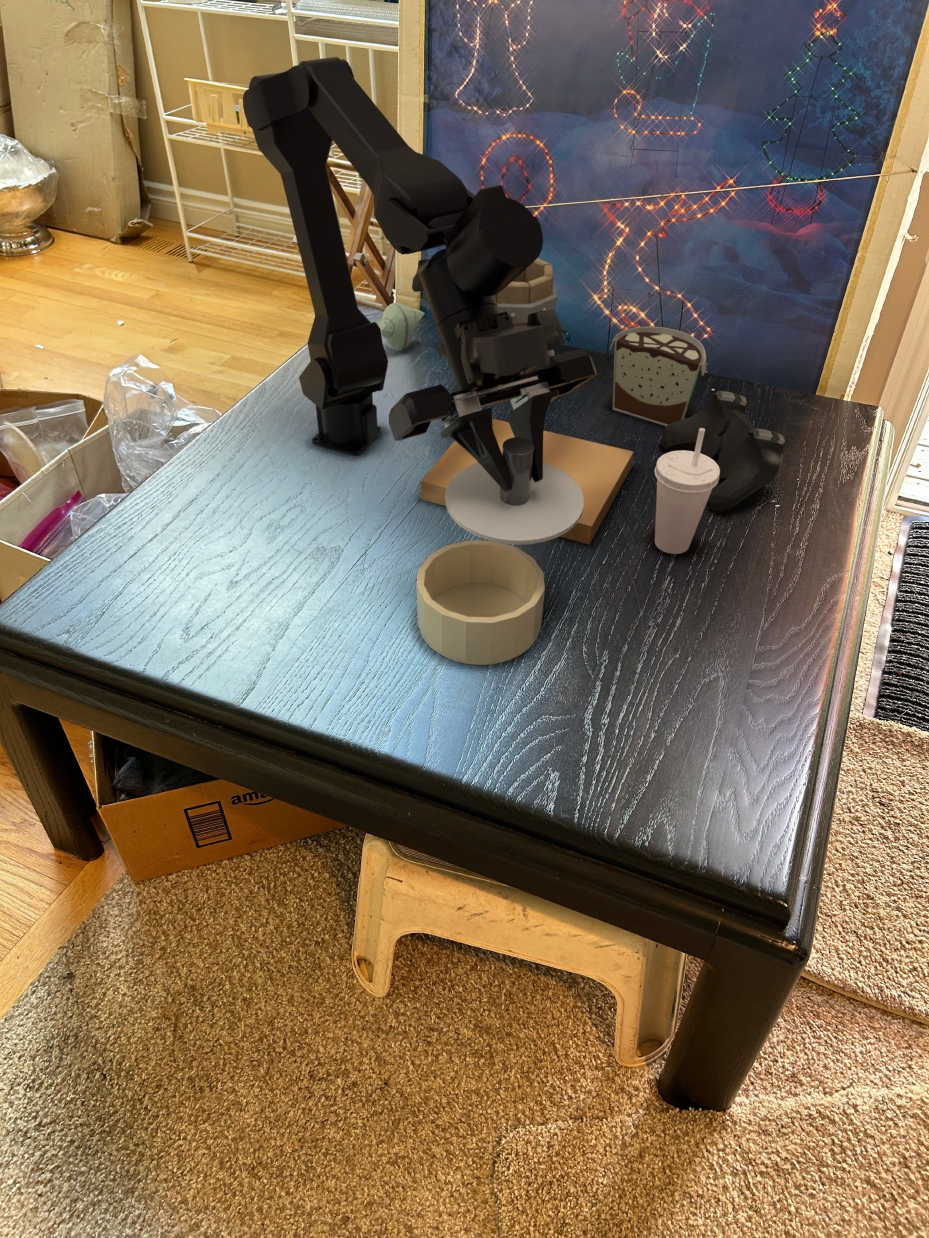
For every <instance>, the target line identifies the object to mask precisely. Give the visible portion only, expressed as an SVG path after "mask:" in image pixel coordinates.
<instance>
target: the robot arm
mask: <svg viewBox="0 0 929 1238" xmlns="http://www.w3.org/2000/svg"><path fill="white" fill-rule="evenodd" d="M242 109H243V113H244V117H245V119H246V122H247V124H248V126H249V128H251V130H252V134H253V135H254V140H255V142H256V146H257V148H258V150H259V152H260V153H261V154H262V155H263V156H264V157H265V158H266V160H267V161H268V162H269V163H270V164H271V165H272V166H273V167H274V168H275V170H276V171H277V172H278V174H279V175H280V178H281V181H282V184H283V190H284V194H285V198H286V202H287V206H288V211H289V214H290V218H291V222H292V227H293V230H294V235H295V238H296V243H297V246H298V250H299V255H300V259H301V263H302V268H303V271H304V275H305V280H306V284H307V288H308V291H309V295H310V300H311V304H312V308H313V311H314V319H313V321H312V325H311V329H310V333H309V336H308V340H307V348H308V353H309V359H310V362H308V364H307V365H306V367H305V368H304V369H303V371H302V372H301V374H300V375H299V377H298V381H299V385H300V387H301V391H302V395H303V396H304V397H305V398H307V399H308V400H309V401H310V402H311V403H313V404H314V405H315V413H316V423H317V430H318V432H317V434H315V436H314V437H312V438H311V443H312V445H314V446H318V447H322V448H327V449H329V450H330V449H331V450H334V451H337V452H341V453H346V454H350V455H352V456H353V455H354V456H358V455H360V454H362V452H364V450H365V449H366V448H367V447H368V446H369V445H370V443H372V441H373V440H374V439H376V438H377V437H378V436H379V434H380V433H381V432H382V427H381V426H379V425H378V412H377V405H376V404H374V398H373V393H376V392H382V391H383V390H384V388H385V387H384V386H385V381H386V377H387V372H388V366H389V359H388V355H387V351H386V350H385V346H384V343H383V338H382V337H383V336H382V335H381V329H380V327H379V326H378V324H377V323H378V322H376V321H373V322H371V321H370V320H369V318H368V317H367V316H366V315H365V314H364V313H363V312H362V311H361V310H360V308H359V306H358V303H357V298H356V294H355V293H356V292H355V288H354V284H353V281H352V275H351V271H350V266H349V262H348V256H347V253H346V249H345V244H344V240H343V234H342V230H341V226H340V222H339V217H338V213H337V208H336V203H335V199H334V194H333V190H332V185H331V181H330V176H329V172H328V168H327V163H328V160H329V156H330V154H331V153H330V152H331V150H332V149H331V148H332V145H333V142H334V144H335V146H336V147H337V148H338V149H339V150H340V152H341V153H342V154H343V156H344V157H345V158H346V159H347V161H348V162H349V164H350V165H351V166H352V167H353V168H354V169H355V171H356V172H357V174H358V175H359V177H361V179H362V180H363V182H364V183H365V184H366V185H367V187H368V188H369V190H370V192H371V193H372V195H373V218H374V219H375V220H376V222H377V224H378V227H380V229H381V231H382V234H383V235H384V237H385V239H386V240H387V241H388V242H389V244H390V245H391V247H392V248H393V249H394V250H395V251H396V252H397V253H398V254H400V255H410V254H415V253H419V252H420V253H421V252H423V251H428V250H432V249H435V248H439V247H443V246H444V247H445V248H443V249H440V250H438V251H436V252H435V253H434V254H432V255H431V257H430V258H425V259H419V260H418V262H417V269H416V271H415V274H414V276H413V278H412V284H411V290H412V291H413V292H414V293H418V292H424V295H425V298H426V301H427V304H428V307H429V310H430V312H431V316H432V319H433V321H434V325H435V328H436V331H437V333H438V337H439V339H440V342H439V343H438V344H437V345H436V349H437V352H438V355H439V358H441V357H446V360H447V363H448V366H449V369H450V372H451V375H452V378H453V381H454V383H455V386H454V387H452V388H451V389H450V391H451V393H450V392H449V390H448V388H446V387H445V386H444V385H443V384H437V385H433V386H428V387H425V388H422V389H418V390H417V389H416V390H413V391H410V392H406V393H405V394H404V395H402V397H401V398H400V399H399V400H398V401H397V402H396V403H395V404H394V405H393V406H392V407H391V408H390V410H389V413H388V425H389V428H390V432H391V435H392V437H393V439H394V441H395V442H397V441H398V442H400V441H402V440H403V441H404V440H407V439H410V438H413V437H417V436H421V435H424V434H426V433H427V431H428V429H429V427H430V425H431V424H432V422H434V421H436V420H440V419H441V422H442V423H443V425H444V429H443V430H442V431H440V436H441V438H442V439H446V438H451V439H452V440H453V441H456V442H457V443H458V444H459V445H460V446H461V447H463V448H464V449H465V450H466V451H467V452H468V453H469V454H470V455H471V456H473V457H474V458H475V459H476V461H477V462H478V463H479V464H480V465H481V466H482V467H483V468H484V469H485V470H486V471H487V473H488V474H489V475H490V476H491V477H492V478H493V479H494V480H495V481H496V483H497V484H498V485H499V486H500V487H501V488H502V489H503V490H504V491H505V492H507V491H510V490H512V488H513V487H512V483H511V478H510V474H509V471H508V468H507V466H506V463H505V461H504V458H503V455H502V453H501V450H500V447H499V445H498V442H497V440H496V437H495V434H494V432H493V425H492V419H493V409H492V407H488V406H492V405H495V404H499V403H503V402H506V401H509V402H510V404H511V407H512V410H511V411H510V412H508V413H507V414H506V415H505V416H506V419H507V422H509V424H510V427H511V429H512V432H513V434H514V437H521V438H525V439H528V440H530V441H531V442H532V443H533V444H534V456H533V467H532V479H533V480H534V482H539V481H541V480H542V479H543V432H544V431H545V421H546V415H547V412H548V409H549V407H550V404H551V402H553V401H554V400H556V399H557V398H558V397H563V396H565V395H568V394H570V393H572V392H574V391H575V390H577V389H578V388H580V387H581V386H582V385H585V384H586V383H587V382H589V381H590V380H592V379H593V378H595V377H596V376H598V372H597V369H596V366H595V363H594V361H593V358H592V356H591V355H590V354H589V353H588V352H586V351H585V350H584V349H582V348H577V349H574V350H569V351H566V352H561V353H558V354H554V356H550V357H549V356H548V351H549V350H553V351H554V350H557V349H561V348H562V347H563V345H564V342H565V341H564V332H563V327H562V323H561V322H560V319H559V317H558V314H557V312H556V309H555V310H554V309H549V310H543V311H539V312H534V313H530V314H529V315H528V321H527V325H524V326H519V327H515V326H514V325H513V322H512V319H511V317H510V316H509V315H508V313H507V312H502V313H500V312H499V309H498V306H497V303H496V300H495V297H494V295H496V294H498V293H499V292H501V291H502V290H503V289H504V288H506V287H507V286H508V285H509V284H510V283H511V282H512V281H513V280H514V279H515V278H517V277H518V276H519V275H520V274H521V273H522V272H523V271H524V270H525V269H527V268H528V267H529V266H530V265H531V264H532V263H533V262H534V261H535V260H536V259H537V258H538V259H539V257H540V255H541V252H542V251H543V246H544V233H543V230H542V226H541V223H540V221H539V219H538V217H537V216H534V215H533V213H532V211H530V210H529V209H528V207H526V206H525V205H524V204H522V202H519V201H517V200H516V199H513V198H510V197H507V194H506V192H505V190H504V187H503V185H502V184H496V185H491V186H486V187H482V188H480V189H479V190H478V191H477V193H476V194H474V193H473V192H472V191H470V190H469V189H468V188H467V187H466V185H465V184H464V182H463V181H462V179H461V178H460V177H458V176H457V175H456V173H454V172H453V171H452V170H450V169H449V168H448V167H447V166H446V165H445V164H444V163H442V161H440V160H438V159H436V158H434V157H431V156H428V155H425V154H422V153H420V152H417V151H415V149H413V148H412V147H411V146H410V145H409V144H408V143H407V142H406V140H405V139H404V138H403V137H402V136H401V134H399V132H398V131H397V130H396V129H395V127H394V126H393V125H392V123H391V122H390V121H389V120H388V118H387V117H386V116H385V114H384V113H383V112H382V111H381V109H379V107H378V106H377V105H376V104H375V103H374V101H373V100H372V98H371V97H369V95H368V94H367V93H366V91H365V90H364V89H363V88H362V86H361V85H360V84H359V83H358V81H357V80H356V79H355V76H354V72H353V69H352V67H351V65H350V63H349V62H348V61H347V60H346V59H345V58H340V57H339V56H329V57H323V58H316V59H309V60H301V61H300V62H299V63H298V64H297V65H293V66H291V67H290V68H289V69H287V70H285V71H282V72H275V73H268V74H260V75H254V76H253V77H251V78H250V81H249V84H248V88H247V89H245V91H244V92H243V95H242ZM532 366H537V367H536V368H534V369H533V370H532V371H530V372H529V373H526V374H522V375H520V372H521V371H523V370H527V369H528V368H529V367H532ZM506 389H507V390H506ZM485 407H488V408H485ZM483 408H484V409H483Z"/></svg>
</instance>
